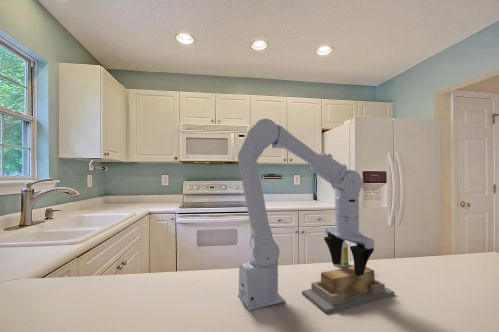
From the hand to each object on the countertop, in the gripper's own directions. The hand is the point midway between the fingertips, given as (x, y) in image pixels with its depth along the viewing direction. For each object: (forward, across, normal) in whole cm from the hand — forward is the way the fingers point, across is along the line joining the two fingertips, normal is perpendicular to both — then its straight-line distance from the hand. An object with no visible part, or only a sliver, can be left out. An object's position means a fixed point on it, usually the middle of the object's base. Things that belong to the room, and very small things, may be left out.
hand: (347, 268), depth 59 cm
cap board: (+6, 0, 0) cm, 7 cm away
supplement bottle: (+7, +16, -13) cm, 22 cm away
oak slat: (+6, 0, 0) cm, 6 cm away
